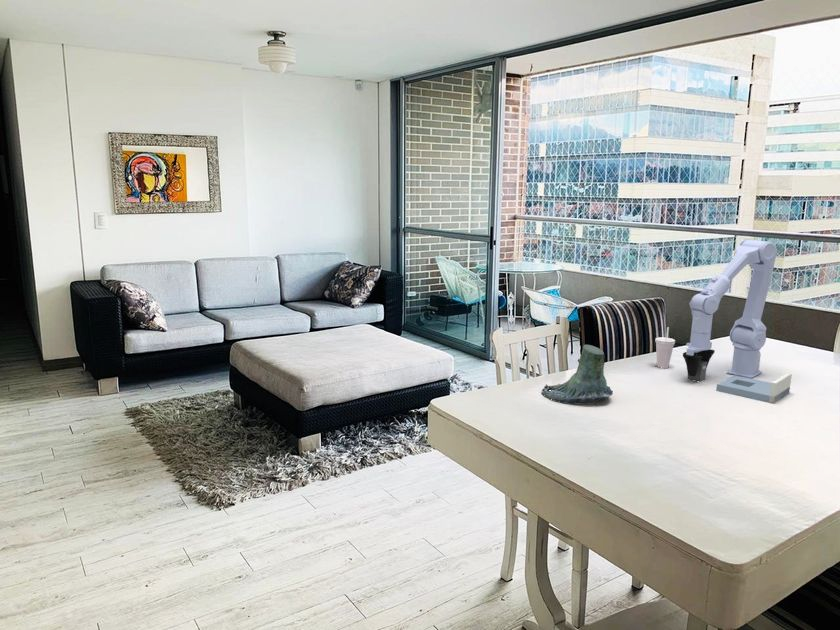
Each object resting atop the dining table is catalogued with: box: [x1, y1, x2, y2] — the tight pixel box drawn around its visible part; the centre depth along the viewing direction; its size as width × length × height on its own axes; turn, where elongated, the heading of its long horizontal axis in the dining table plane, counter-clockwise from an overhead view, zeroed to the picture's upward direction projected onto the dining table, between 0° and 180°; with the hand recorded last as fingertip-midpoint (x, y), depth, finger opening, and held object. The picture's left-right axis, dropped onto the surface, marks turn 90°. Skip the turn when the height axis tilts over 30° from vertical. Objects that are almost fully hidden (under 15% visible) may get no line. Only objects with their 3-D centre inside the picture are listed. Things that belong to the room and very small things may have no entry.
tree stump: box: [541, 344, 614, 404], centre depth 186 cm, size 18×20×18 cm
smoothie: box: [654, 326, 676, 369], centre depth 217 cm, size 6×6×14 cm
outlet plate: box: [715, 372, 792, 404], centre depth 192 cm, size 14×16×6 cm
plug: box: [687, 361, 708, 383], centre depth 204 cm, size 4×4×6 cm
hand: (696, 373), depth 204 cm, fingers open, 7 cm apart
